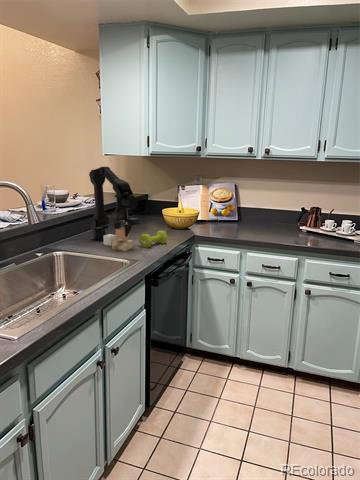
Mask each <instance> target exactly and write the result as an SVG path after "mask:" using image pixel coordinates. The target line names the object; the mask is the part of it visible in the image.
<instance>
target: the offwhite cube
mask: <svg viewBox="0 0 360 480" xmlns="http://www.w3.org/2000/svg"><path fill="white" fill-rule="evenodd" d="M103 239H104V240H103V245H105V246H111V247H112V242H114V241H116V240H118V239H116V234H112V233H111V234H110V233H109V234H106V235H104V236H103Z"/></svg>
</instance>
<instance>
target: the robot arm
mask: <svg viewBox="0 0 360 480" xmlns="http://www.w3.org/2000/svg"><path fill="white" fill-rule="evenodd" d="M88 175H89V176H88V177H89V180H90V183H91V184H92V185H93V193H94V207H95V208H94V209H95V212H94V214H93V216H92V222H91V223H90V225H89V227H90V229H91V230H92V232H93V237H92V238H91V240H94V241H99V242H101V241H104V239H103V236H104V235H107V232H106V229H108V228H109V225H110V224H111V225H112V226H113V228H114V230H115V231H116V229H118V228H121V227H122V225H121V224H122V223H125V224H123V227H124V228H125V236H126V237H127V236H128V234H129V235H130V232H131V230H132V228H133V227H134V226H137V225H140V224H141V221H140V219H139V217H138V218H137V217H131V218H130V216H129V215H128V213H129V212H128V211H130V210H136V209H137V207H138V205H139V202H138V199H137V198H135V195H134V194H133V193H134V192H133V190H132V189H131V186H130V184H129V182H127V181H126V180H125V179H121V178H119V177H118V175H116V173H114V172H113V171H112V170H111V168H110V167H109V166H100V167H98V168H94V169H90V172H89V174H88ZM106 180H107V181H108V182H109V183H110V184H111V185H112V190H113V191H114V192H115V195H114V198H116V208H114V212H113V213H110V215H109V214H107V213H106V210H105V199H104V184H105V182H106ZM109 223H110V224H109Z"/></svg>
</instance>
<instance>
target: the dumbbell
mask: <svg viewBox="0 0 360 480" xmlns="http://www.w3.org/2000/svg"><path fill="white" fill-rule="evenodd" d="M167 241H168V234H167V231H165V230H158V231H157V232H156V233H155V235H153V236H151V235H150V234H149V233H143V234H140V237H139V243H140V246H141V247H142V248H144V249H148V248H151V246H152V244H153V243H154V242H156V243H157V244H160V245H161V244H162V245H164V244H166V242H167Z"/></svg>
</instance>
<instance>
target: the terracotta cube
mask: <svg viewBox="0 0 360 480" xmlns="http://www.w3.org/2000/svg"><path fill="white" fill-rule="evenodd" d="M115 235H116V239H117V240H118V239H122V240H128V239H129V238H130V233H129V234H128V236H127V237H126V236H125V227H122V226H121V227H120V228H118V229H116V230H115Z"/></svg>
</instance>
